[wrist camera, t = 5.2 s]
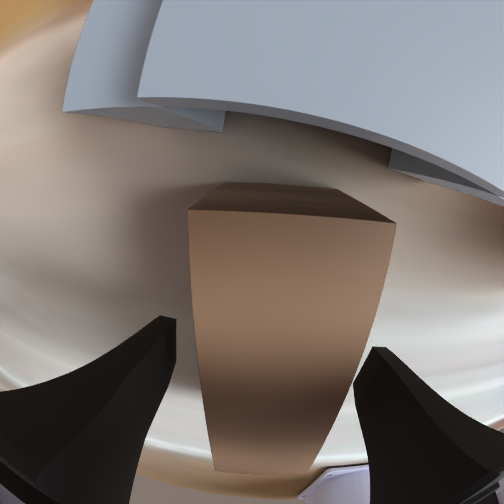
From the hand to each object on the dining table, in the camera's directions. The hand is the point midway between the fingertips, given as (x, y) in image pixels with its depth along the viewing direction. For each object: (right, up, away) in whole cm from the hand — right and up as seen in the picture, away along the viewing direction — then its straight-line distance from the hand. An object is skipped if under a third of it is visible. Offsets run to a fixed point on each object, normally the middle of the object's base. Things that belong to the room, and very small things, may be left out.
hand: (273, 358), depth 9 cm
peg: (0, +1, +2) cm, 3 cm away
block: (+2, +10, -1) cm, 10 cm away
